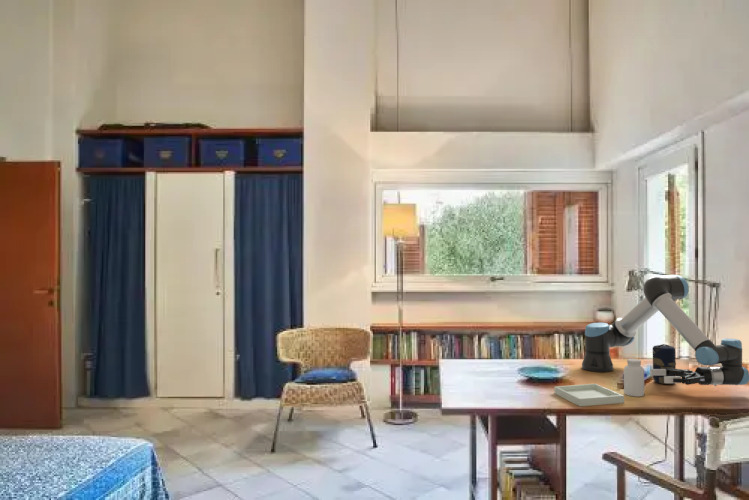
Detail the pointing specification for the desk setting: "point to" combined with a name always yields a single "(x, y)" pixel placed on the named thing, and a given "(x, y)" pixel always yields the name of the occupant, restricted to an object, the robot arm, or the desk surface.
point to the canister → (663, 360)
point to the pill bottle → (634, 378)
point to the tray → (588, 394)
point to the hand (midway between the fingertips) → (657, 375)
